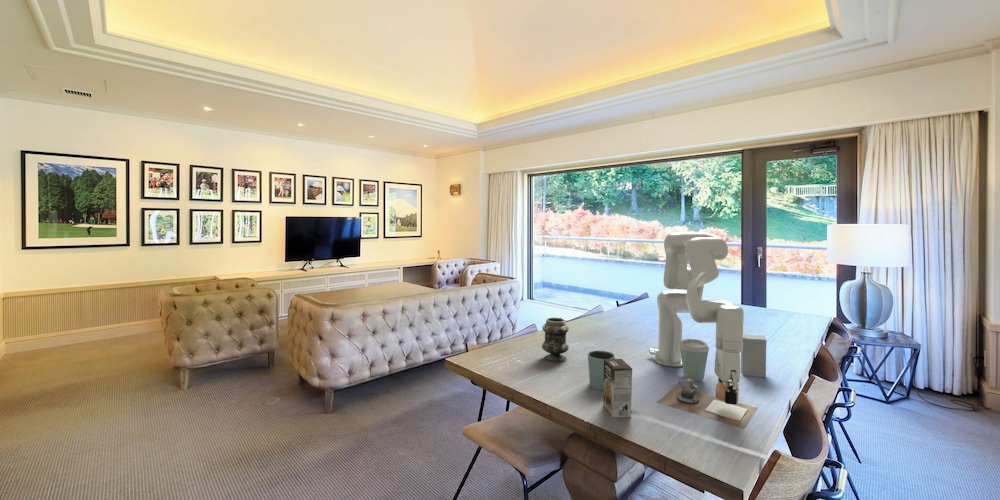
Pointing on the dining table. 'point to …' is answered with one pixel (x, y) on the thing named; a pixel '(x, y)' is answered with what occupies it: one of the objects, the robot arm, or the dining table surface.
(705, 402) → the board
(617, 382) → the coffee box
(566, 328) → the apothecary jar
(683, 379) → the round metal knob
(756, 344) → the skincare box
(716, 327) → the robot arm
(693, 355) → the disposable coffee cup
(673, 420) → the dining table surface
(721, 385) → the cap
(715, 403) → the pad
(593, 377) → the teal cup
